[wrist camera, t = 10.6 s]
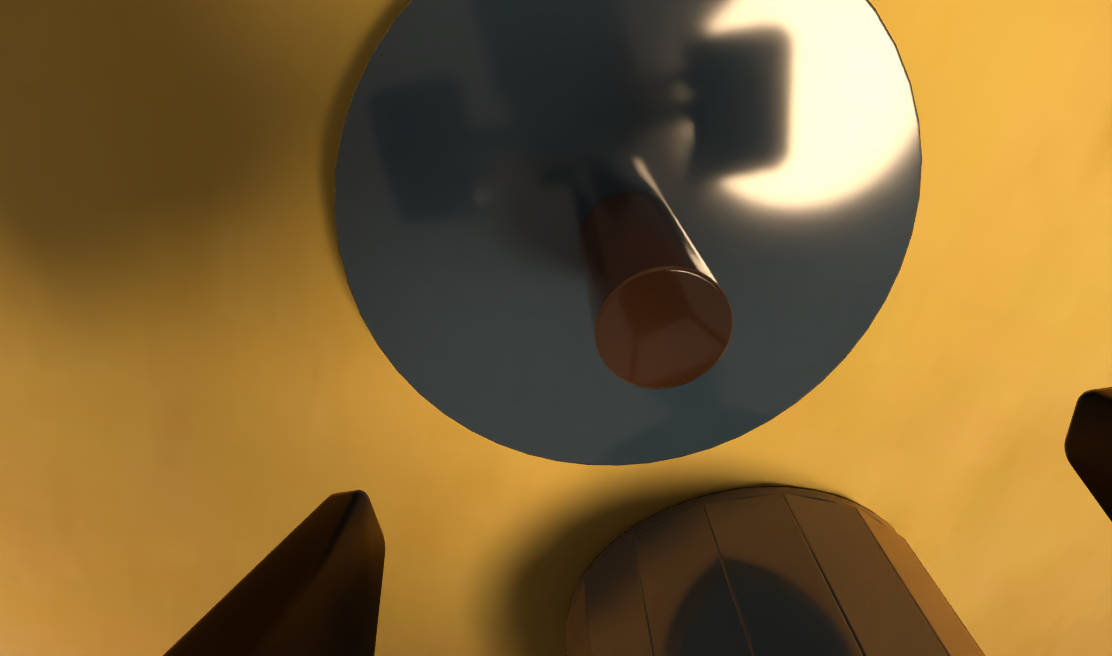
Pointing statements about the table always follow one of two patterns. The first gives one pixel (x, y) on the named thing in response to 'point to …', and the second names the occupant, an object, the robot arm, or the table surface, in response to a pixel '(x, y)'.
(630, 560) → the canister
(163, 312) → the table surface
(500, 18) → the lid
